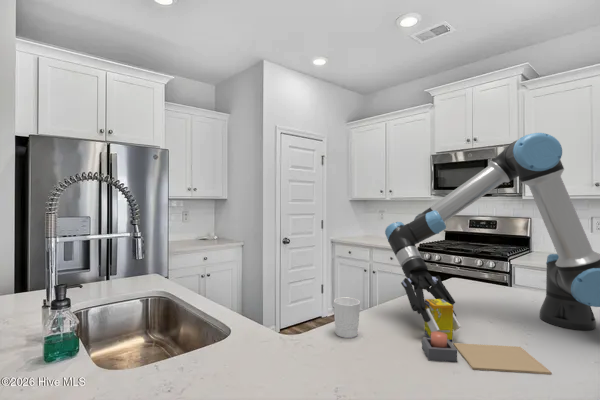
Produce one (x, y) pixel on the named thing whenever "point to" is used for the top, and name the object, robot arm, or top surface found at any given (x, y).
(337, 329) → the white cup
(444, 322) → the supplement box
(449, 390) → the top surface
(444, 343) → the button
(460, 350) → the thin tan board
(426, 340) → the button housing
